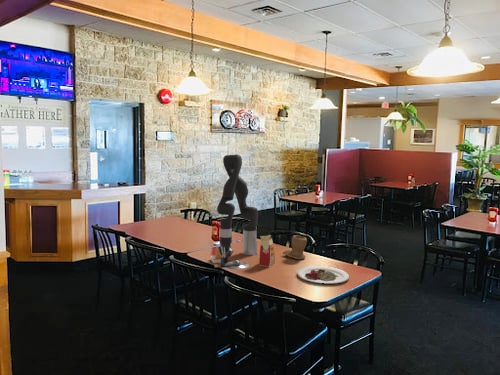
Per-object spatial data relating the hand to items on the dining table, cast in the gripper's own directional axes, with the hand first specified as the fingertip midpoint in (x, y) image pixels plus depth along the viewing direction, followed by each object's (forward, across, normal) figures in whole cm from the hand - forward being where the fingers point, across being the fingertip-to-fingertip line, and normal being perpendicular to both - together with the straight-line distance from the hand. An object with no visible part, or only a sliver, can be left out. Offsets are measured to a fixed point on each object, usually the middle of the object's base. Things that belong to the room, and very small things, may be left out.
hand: (225, 263), depth 251 cm
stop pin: (+3, +15, -6) cm, 16 cm away
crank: (+3, +2, -5) cm, 6 cm away
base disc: (+4, +1, -6) cm, 7 cm away
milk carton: (+4, -10, -25) cm, 27 cm away
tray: (+4, +15, -6) cm, 16 cm away
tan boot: (+3, -10, -53) cm, 54 cm away
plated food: (+4, -46, -37) cm, 59 cm away
